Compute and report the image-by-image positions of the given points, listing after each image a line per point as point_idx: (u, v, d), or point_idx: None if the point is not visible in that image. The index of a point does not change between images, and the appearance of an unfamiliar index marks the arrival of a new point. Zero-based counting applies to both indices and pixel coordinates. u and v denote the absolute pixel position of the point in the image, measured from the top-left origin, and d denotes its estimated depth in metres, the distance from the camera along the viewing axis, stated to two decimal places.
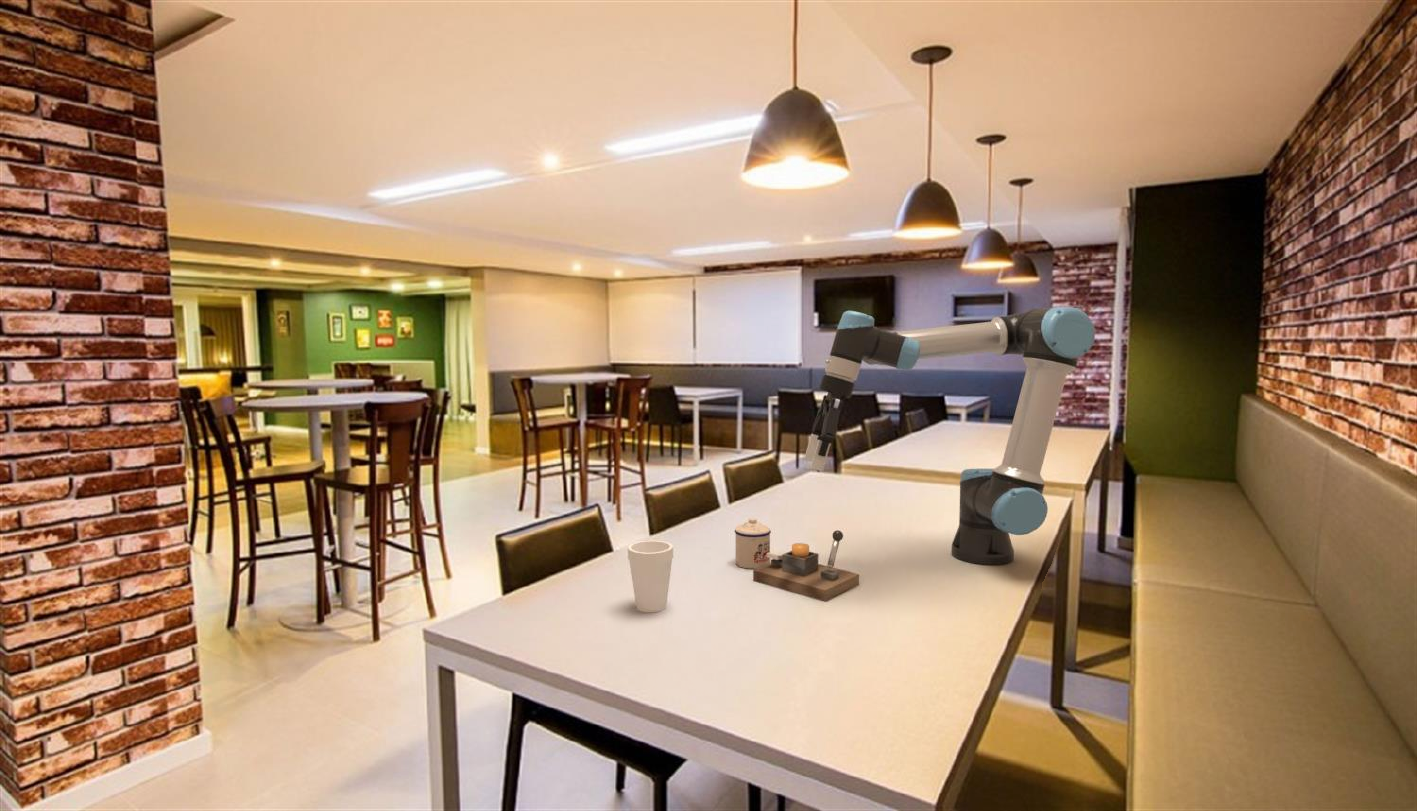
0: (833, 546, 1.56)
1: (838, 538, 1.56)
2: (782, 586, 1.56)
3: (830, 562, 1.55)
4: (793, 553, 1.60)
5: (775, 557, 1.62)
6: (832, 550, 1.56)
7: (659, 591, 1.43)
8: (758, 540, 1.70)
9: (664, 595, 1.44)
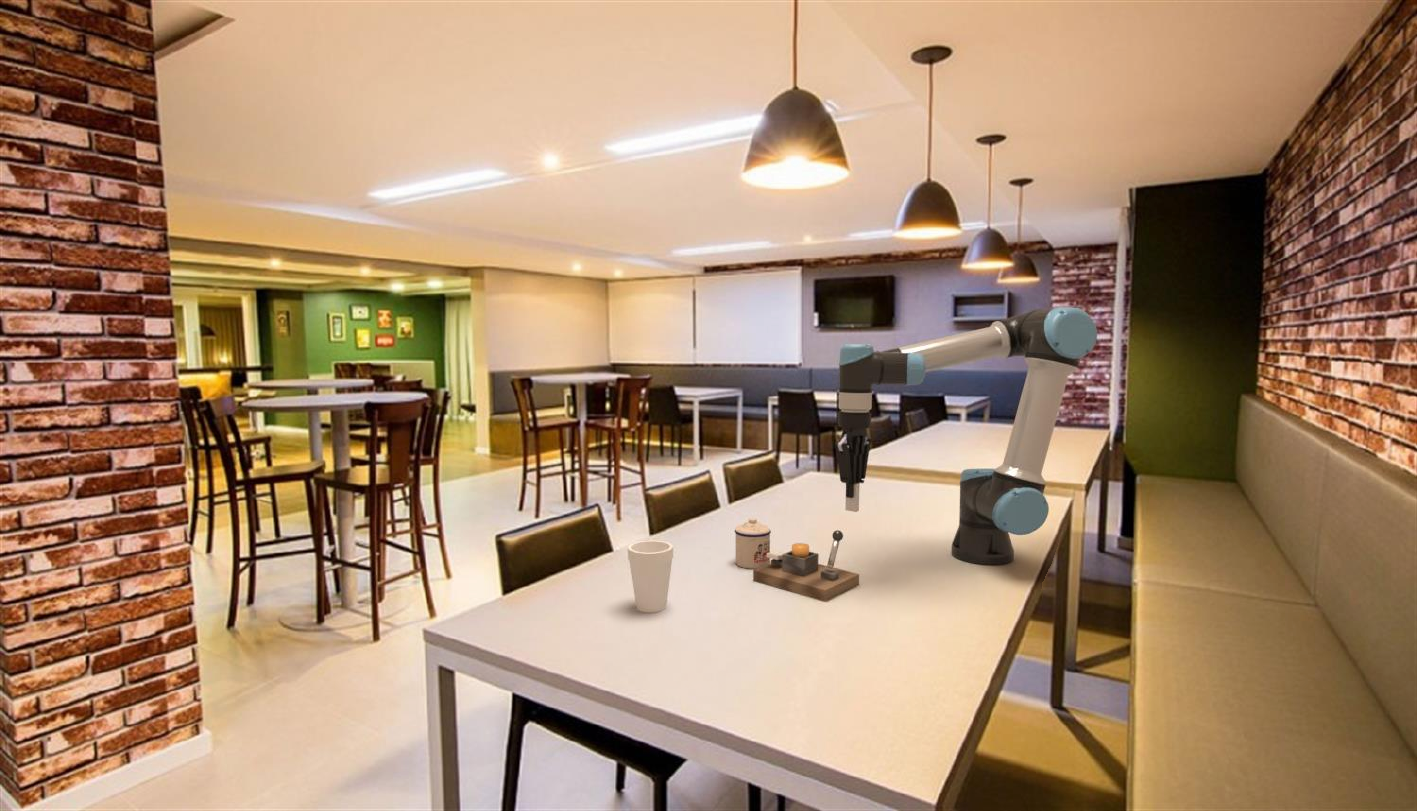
0: (833, 546, 1.56)
1: (838, 538, 1.56)
2: (782, 586, 1.56)
3: (830, 562, 1.55)
4: (793, 553, 1.60)
5: (775, 557, 1.62)
6: (832, 550, 1.56)
7: (659, 591, 1.43)
8: (758, 540, 1.70)
9: (664, 595, 1.44)
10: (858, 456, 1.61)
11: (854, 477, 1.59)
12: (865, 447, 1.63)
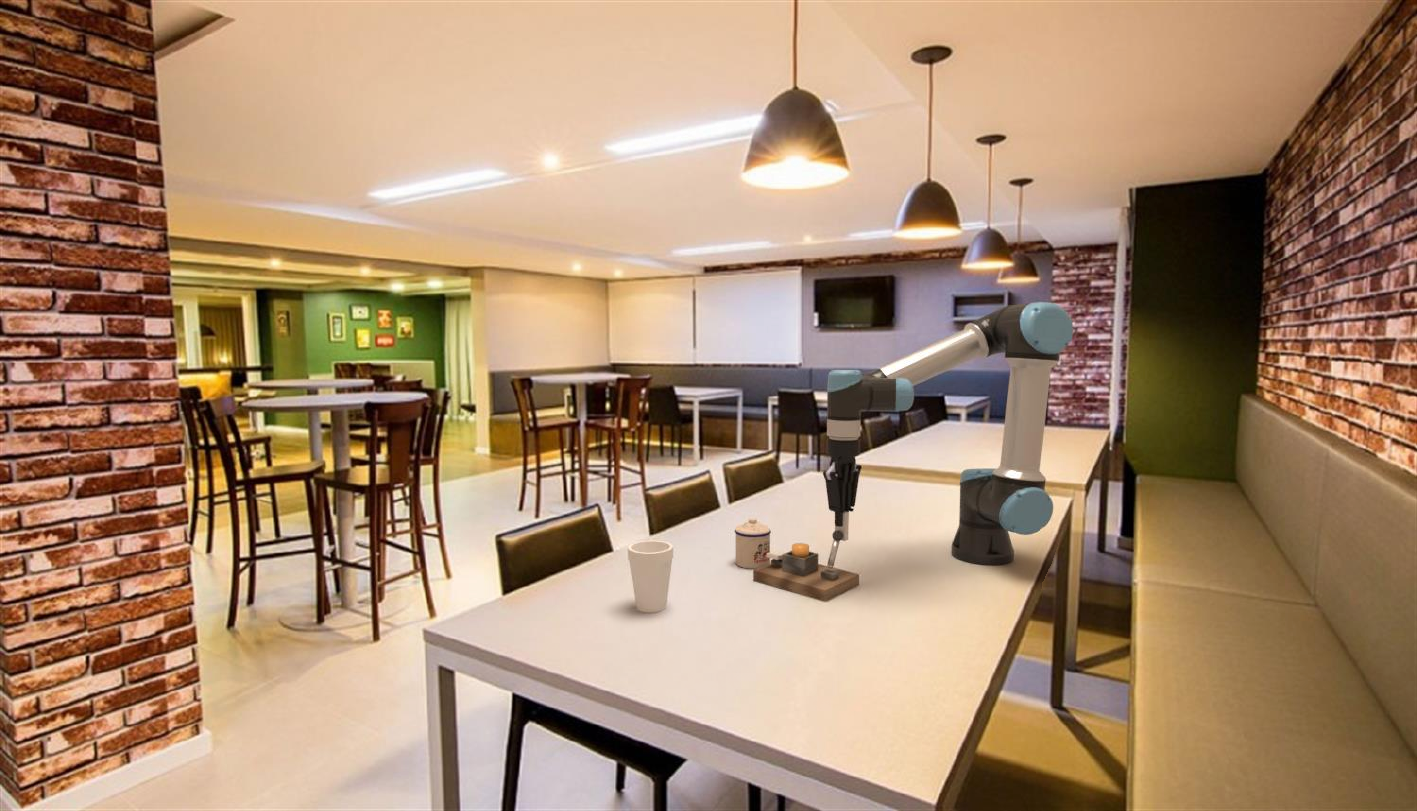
0: (833, 546, 1.56)
1: (838, 538, 1.56)
2: (782, 586, 1.56)
3: (830, 562, 1.55)
4: (793, 553, 1.60)
5: (775, 557, 1.62)
6: (832, 550, 1.56)
7: (659, 591, 1.43)
8: (758, 540, 1.70)
9: (664, 595, 1.44)
10: (847, 484, 1.58)
11: (843, 506, 1.56)
12: (854, 474, 1.60)
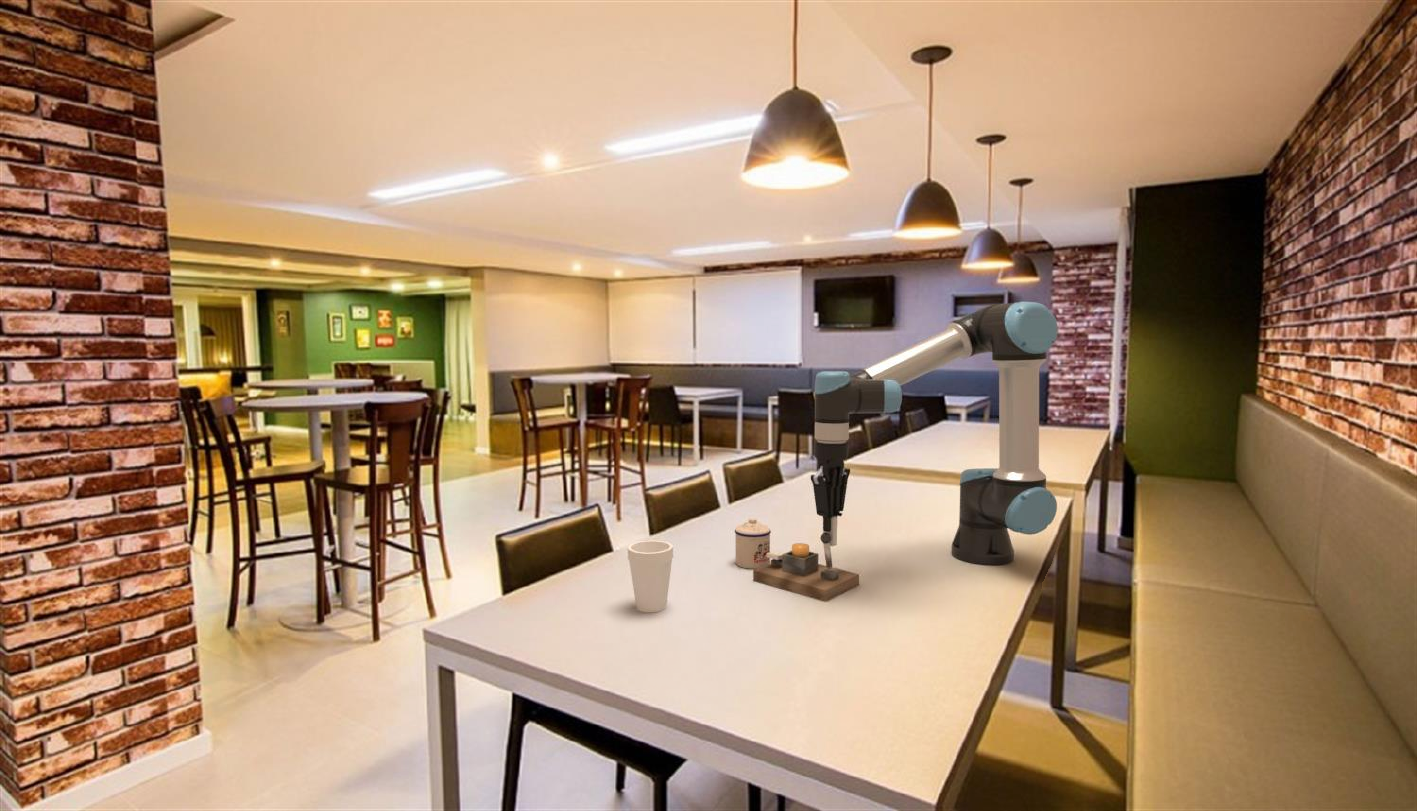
0: (825, 550, 1.54)
1: (827, 542, 1.53)
2: (782, 586, 1.56)
3: (828, 564, 1.55)
4: (793, 553, 1.60)
5: (775, 557, 1.62)
6: (826, 553, 1.54)
7: (659, 591, 1.43)
8: (758, 540, 1.70)
9: (664, 595, 1.44)
10: (835, 488, 1.54)
11: (831, 510, 1.53)
12: (843, 478, 1.57)
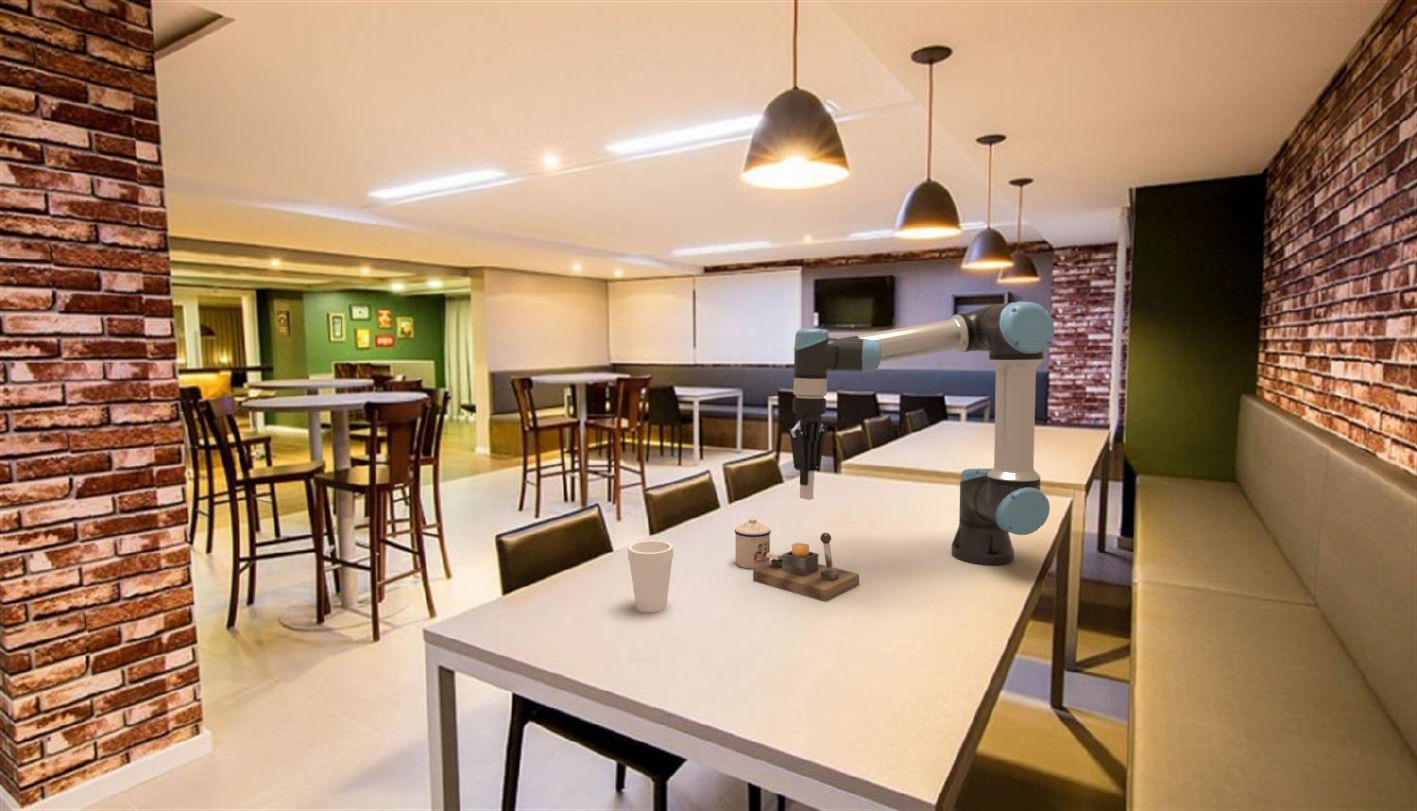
0: (825, 550, 1.54)
1: (827, 542, 1.53)
2: (782, 586, 1.56)
3: (828, 564, 1.55)
4: (793, 553, 1.60)
5: (775, 557, 1.62)
6: (825, 553, 1.54)
7: (659, 591, 1.43)
8: (758, 540, 1.70)
9: (664, 595, 1.44)
10: (813, 443, 1.58)
11: (808, 464, 1.57)
12: (820, 434, 1.61)
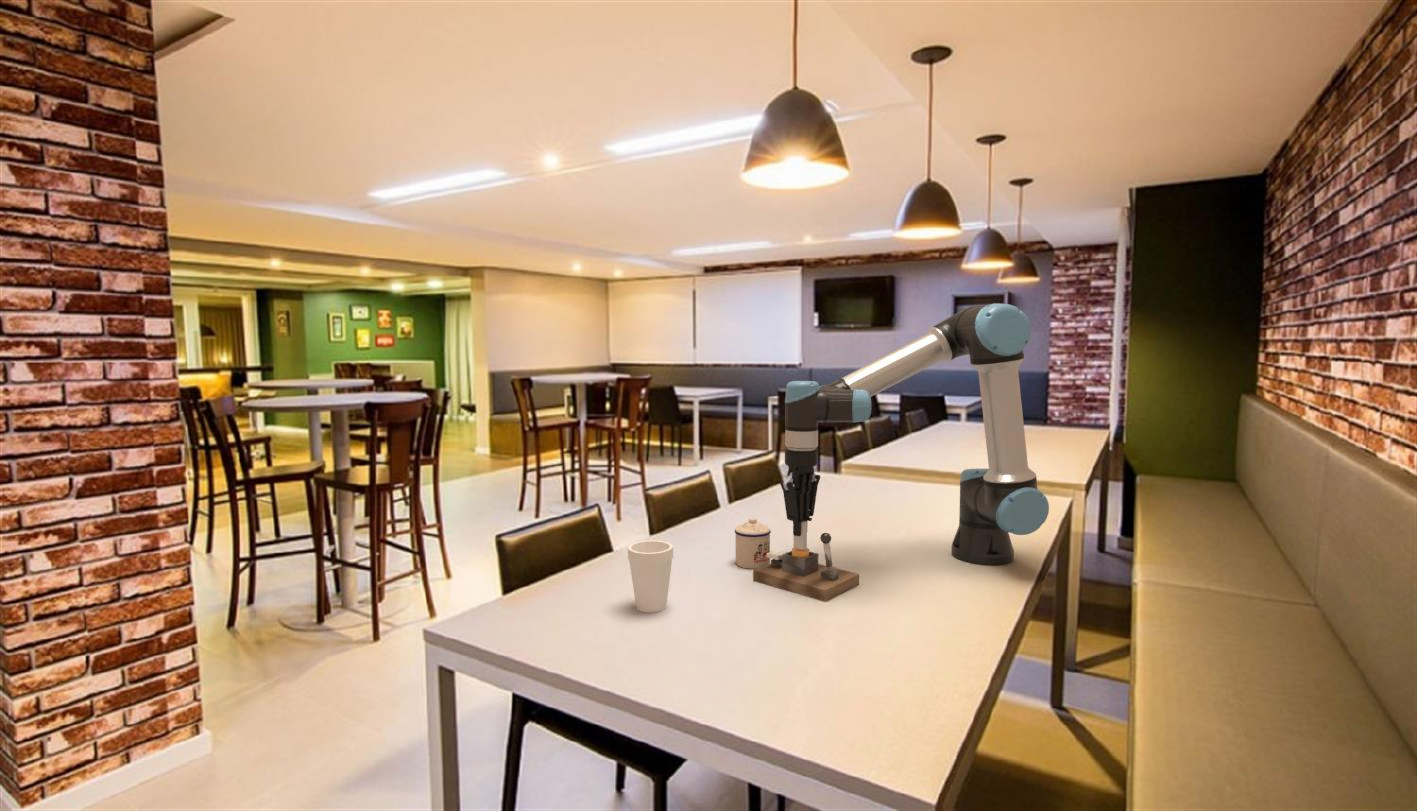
0: (825, 550, 1.54)
1: (827, 542, 1.53)
2: (782, 586, 1.56)
3: (828, 564, 1.55)
4: None
5: (775, 557, 1.62)
6: (825, 553, 1.54)
7: (659, 591, 1.43)
8: (758, 540, 1.70)
9: (664, 595, 1.44)
10: (805, 494, 1.59)
11: (801, 515, 1.58)
12: (813, 484, 1.62)
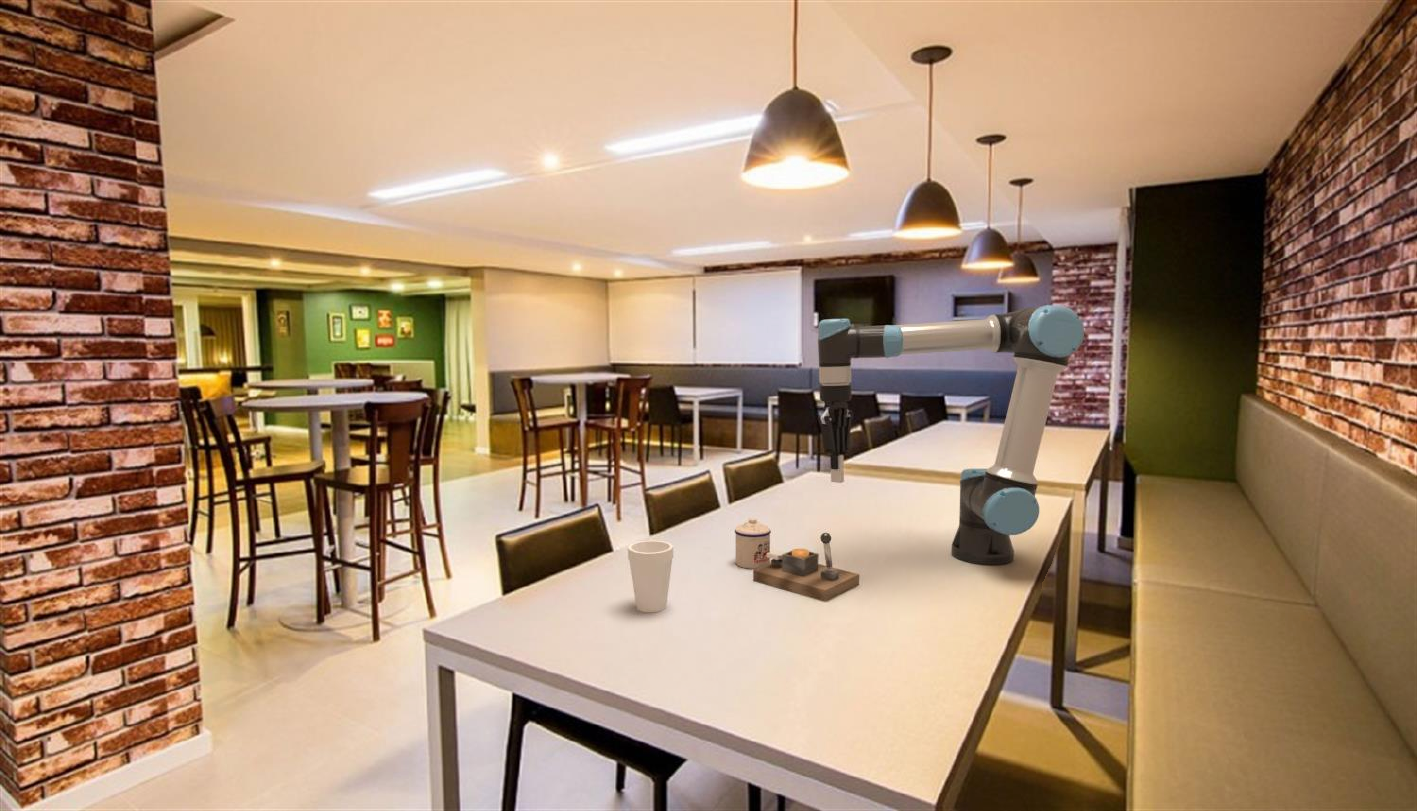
0: (825, 550, 1.54)
1: (827, 542, 1.53)
2: (782, 586, 1.56)
3: (828, 564, 1.55)
4: None
5: (775, 557, 1.62)
6: (825, 553, 1.54)
7: (659, 591, 1.43)
8: (758, 540, 1.70)
9: (664, 595, 1.44)
10: (841, 428, 1.65)
11: (838, 449, 1.64)
12: (847, 420, 1.67)
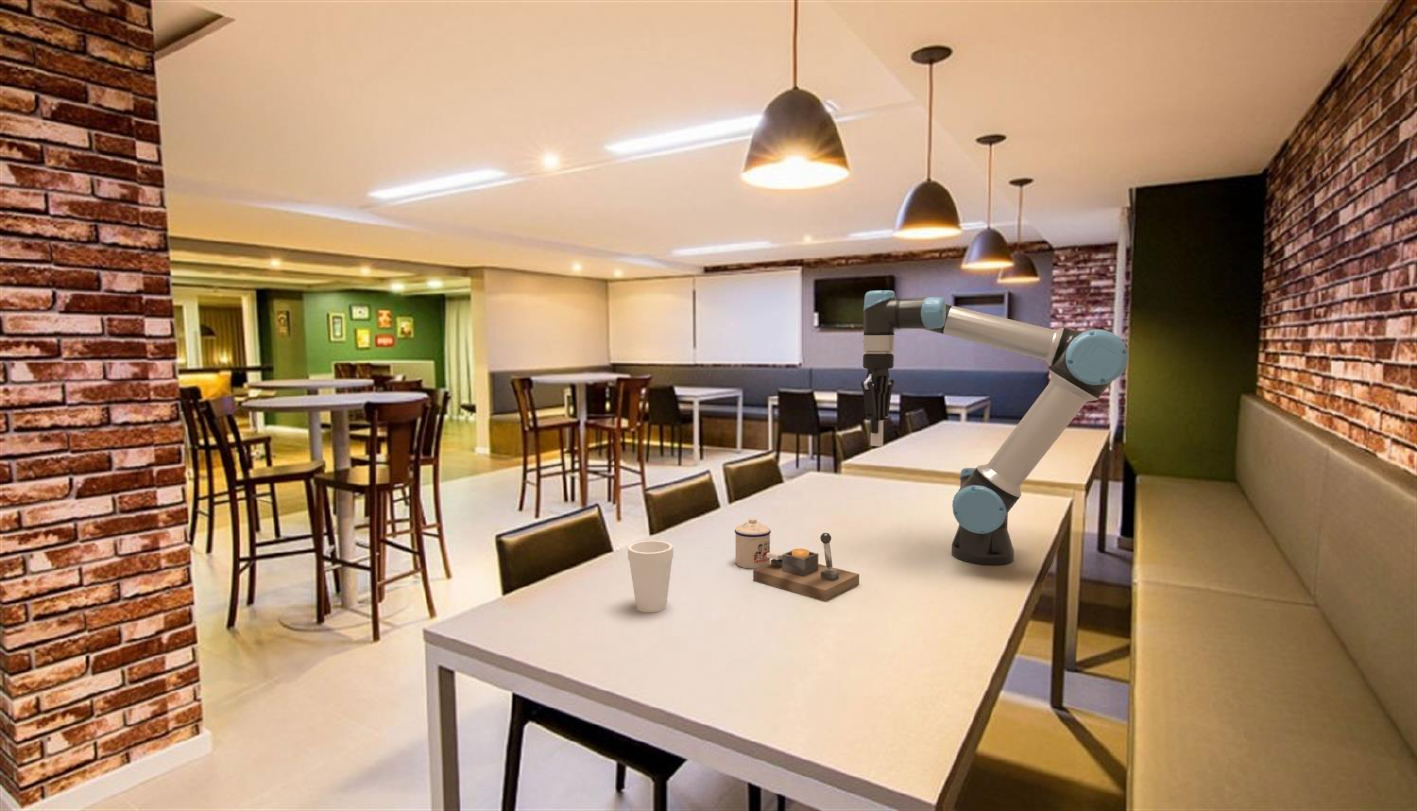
0: (825, 550, 1.54)
1: (827, 542, 1.53)
2: (782, 586, 1.56)
3: (828, 564, 1.55)
4: None
5: (775, 557, 1.62)
6: (825, 553, 1.54)
7: (659, 591, 1.43)
8: (758, 540, 1.70)
9: (664, 595, 1.44)
10: (882, 395, 1.74)
11: (878, 414, 1.73)
12: (888, 387, 1.77)
